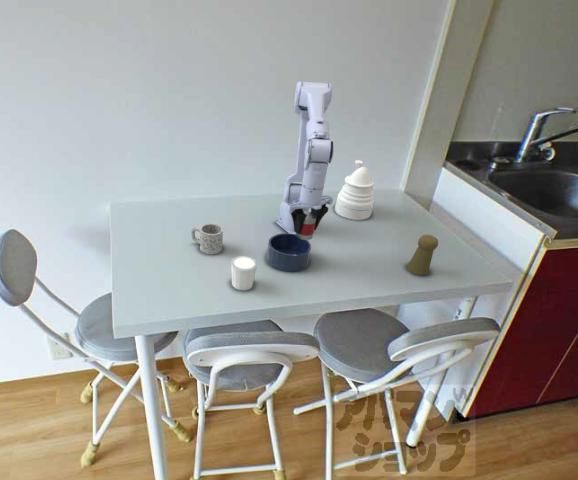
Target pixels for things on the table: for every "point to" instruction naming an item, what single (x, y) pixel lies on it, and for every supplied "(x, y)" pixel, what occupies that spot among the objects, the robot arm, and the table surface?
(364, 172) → the honey pot
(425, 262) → the cork
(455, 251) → the table surface
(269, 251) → the dark blue round bowl
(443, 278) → the table surface
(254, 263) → the white tapered cylinder
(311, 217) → the can
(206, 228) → the mug
